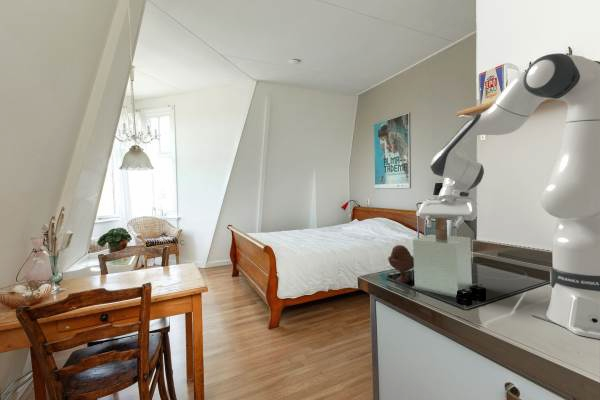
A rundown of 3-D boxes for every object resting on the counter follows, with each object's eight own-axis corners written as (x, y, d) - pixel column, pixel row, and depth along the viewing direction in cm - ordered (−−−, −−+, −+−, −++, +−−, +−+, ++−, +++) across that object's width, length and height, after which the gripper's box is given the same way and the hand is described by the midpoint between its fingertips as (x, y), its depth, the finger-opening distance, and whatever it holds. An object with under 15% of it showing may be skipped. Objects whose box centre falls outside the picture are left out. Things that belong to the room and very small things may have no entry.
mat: (475, 286, 105) (475, 284, 105) (460, 299, 94) (460, 298, 94) (429, 277, 118) (429, 276, 118) (411, 288, 106) (410, 287, 106)
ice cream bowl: (420, 285, 109) (418, 247, 109) (390, 284, 111) (388, 247, 111) (414, 277, 119) (413, 242, 119) (387, 276, 122) (386, 242, 121)
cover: (471, 285, 105) (469, 216, 104) (458, 296, 95) (455, 220, 94) (431, 277, 116) (428, 215, 115) (414, 287, 106) (412, 218, 105)
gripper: (421, 194, 118) (411, 220, 111) (477, 193, 103) (469, 222, 96) (426, 204, 121) (417, 230, 114) (481, 204, 106) (473, 233, 99)
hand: (441, 226), depth 105 cm, fingers open, 8 cm apart
